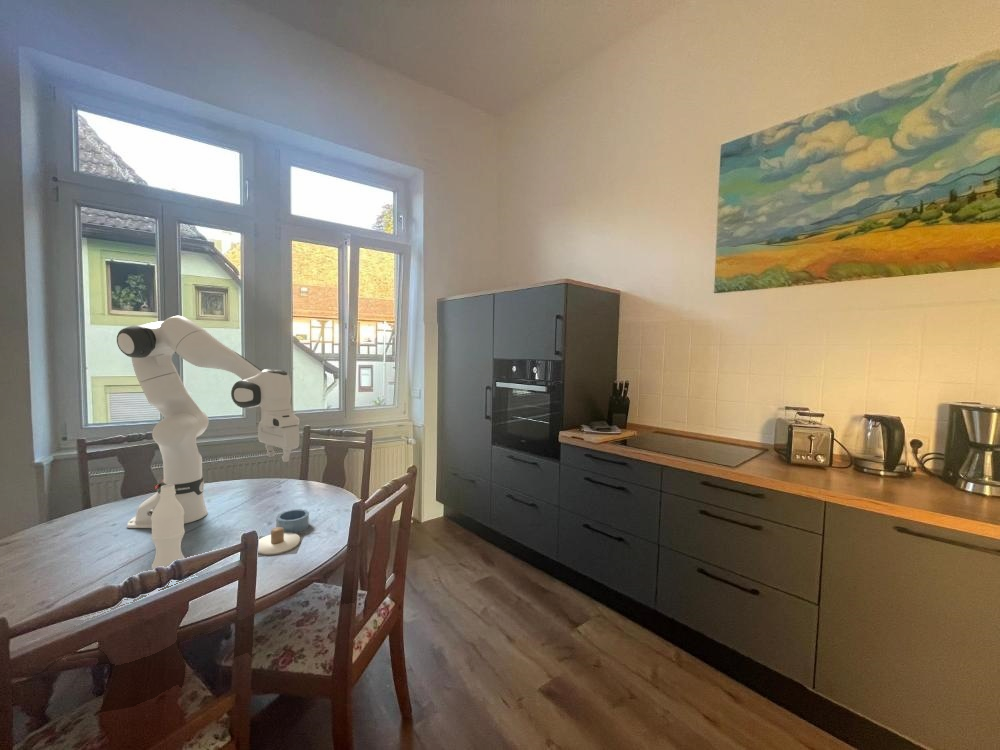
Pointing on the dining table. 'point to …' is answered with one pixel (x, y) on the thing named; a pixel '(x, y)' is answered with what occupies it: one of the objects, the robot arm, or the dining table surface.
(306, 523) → the bowl
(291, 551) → the mat
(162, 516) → the water bottle
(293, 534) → the lid
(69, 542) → the dining table surface
